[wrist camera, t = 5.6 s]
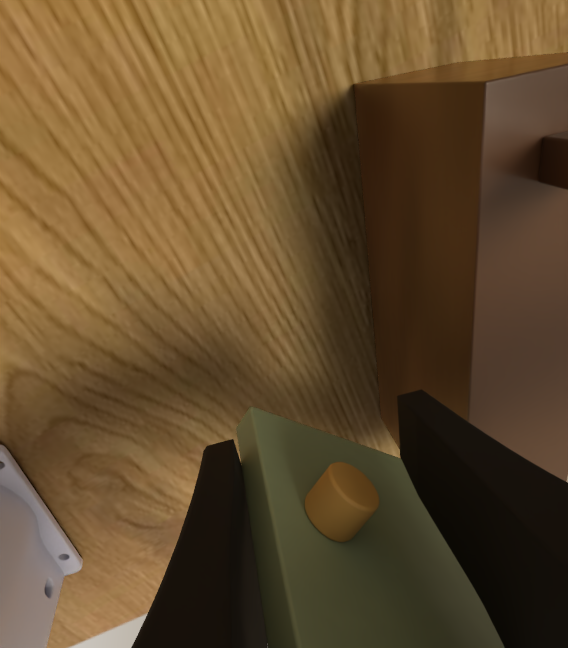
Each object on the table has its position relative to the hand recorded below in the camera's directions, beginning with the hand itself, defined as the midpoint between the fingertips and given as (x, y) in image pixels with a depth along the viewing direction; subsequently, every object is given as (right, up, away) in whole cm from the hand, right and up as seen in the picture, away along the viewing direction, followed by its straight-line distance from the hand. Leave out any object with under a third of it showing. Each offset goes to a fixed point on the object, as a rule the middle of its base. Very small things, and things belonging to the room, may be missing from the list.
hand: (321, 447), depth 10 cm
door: (+3, -1, +3) cm, 4 cm away
